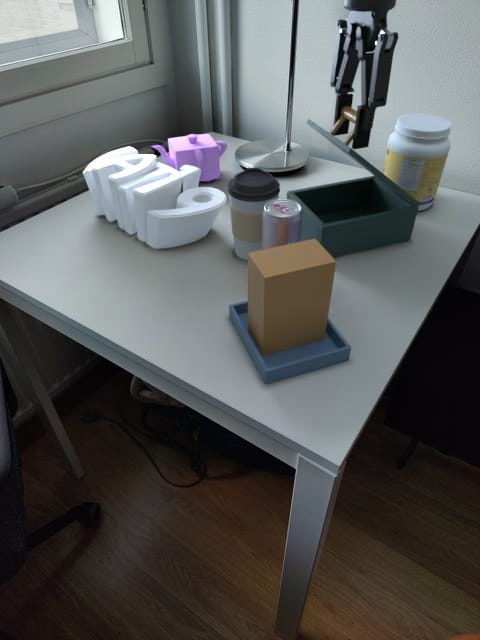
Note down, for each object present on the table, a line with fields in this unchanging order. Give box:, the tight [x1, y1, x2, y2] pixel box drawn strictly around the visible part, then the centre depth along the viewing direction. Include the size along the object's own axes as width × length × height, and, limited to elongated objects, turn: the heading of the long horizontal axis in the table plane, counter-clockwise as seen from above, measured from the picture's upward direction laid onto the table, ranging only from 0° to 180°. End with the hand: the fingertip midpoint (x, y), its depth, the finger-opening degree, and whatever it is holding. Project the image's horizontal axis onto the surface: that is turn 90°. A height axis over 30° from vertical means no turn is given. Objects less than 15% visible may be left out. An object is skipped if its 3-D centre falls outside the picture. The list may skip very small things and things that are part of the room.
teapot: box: [150, 133, 228, 183], centre depth 110 cm, size 18×14×10 cm
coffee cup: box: [227, 167, 281, 261], centre depth 83 cm, size 9×9×15 cm
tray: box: [228, 300, 352, 385], centre depth 69 cm, size 15×13×2 cm
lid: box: [305, 106, 421, 207], centre depth 83 cm, size 21×15×6 cm
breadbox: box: [285, 175, 419, 258], centre depth 91 cm, size 20×15×7 cm
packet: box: [247, 239, 337, 356], centre depth 65 cm, size 6×10×14 cm, turn 110°
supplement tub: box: [381, 113, 452, 212], centre depth 97 cm, size 12×12×17 cm
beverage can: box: [262, 198, 302, 250], centre depth 74 cm, size 6×6×15 cm
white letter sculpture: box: [82, 146, 227, 250], centre depth 95 cm, size 35×16×11 cm, turn 42°
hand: (349, 140), depth 80 cm, fingers closed on lid, 6 cm apart
